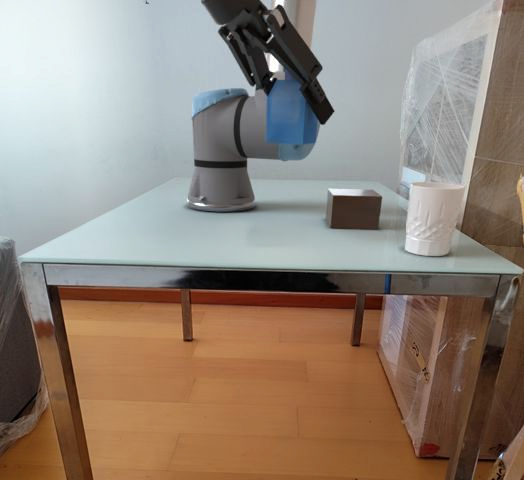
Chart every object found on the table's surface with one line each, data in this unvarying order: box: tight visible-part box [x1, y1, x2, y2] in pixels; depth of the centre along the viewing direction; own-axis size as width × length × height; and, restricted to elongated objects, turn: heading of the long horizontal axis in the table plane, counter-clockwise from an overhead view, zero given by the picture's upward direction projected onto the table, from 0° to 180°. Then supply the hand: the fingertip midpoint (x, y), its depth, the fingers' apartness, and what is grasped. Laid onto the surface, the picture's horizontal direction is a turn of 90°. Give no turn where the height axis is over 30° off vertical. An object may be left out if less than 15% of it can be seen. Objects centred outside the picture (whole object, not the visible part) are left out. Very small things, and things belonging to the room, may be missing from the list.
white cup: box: [404, 181, 466, 257], centre depth 73 cm, size 8×8×10 cm
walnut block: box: [325, 188, 383, 230], centre depth 92 cm, size 9×9×6 cm
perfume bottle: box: [266, 67, 317, 144], centre depth 74 cm, size 6×6×12 cm
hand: (308, 117), depth 77 cm, fingers closed on perfume bottle, 8 cm apart
